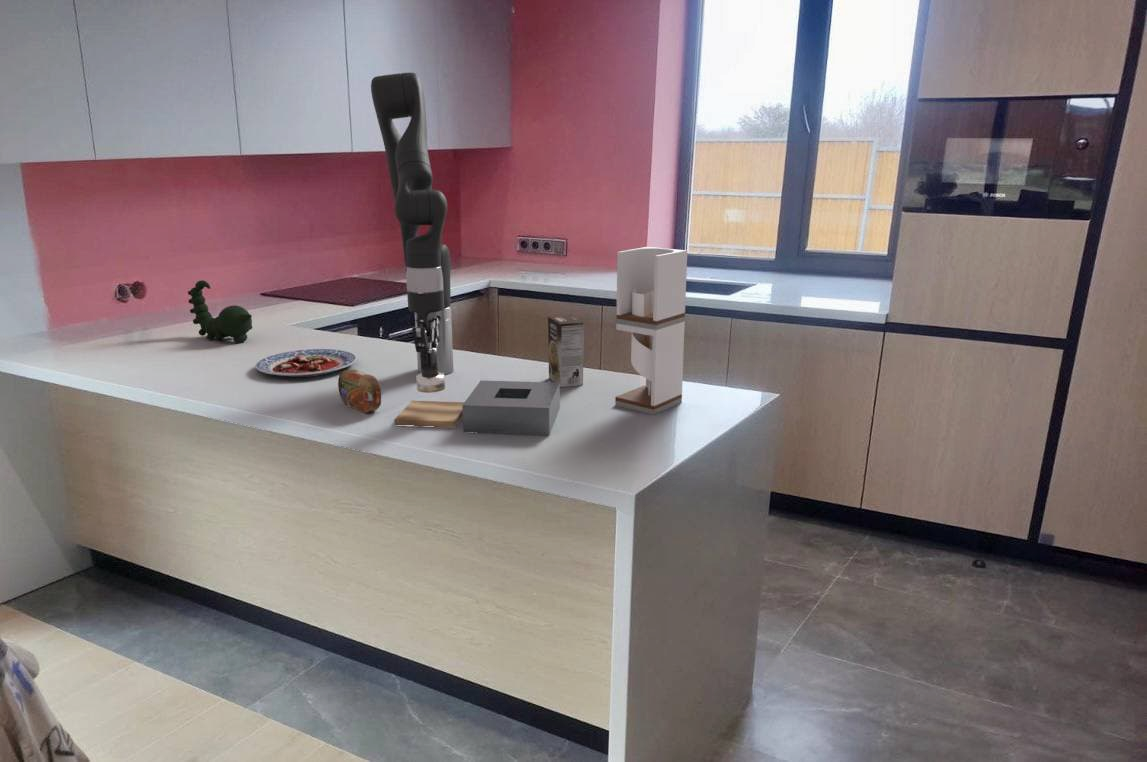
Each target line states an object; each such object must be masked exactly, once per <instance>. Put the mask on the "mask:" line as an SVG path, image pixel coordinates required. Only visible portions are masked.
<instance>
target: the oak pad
mask: <svg viewBox="0 0 1147 762" xmlns="http://www.w3.org/2000/svg"><path fill="white" fill-rule="evenodd" d="M464 402H465V401H463V402H462V401H437V400H436V401H435V400H433V401H432V400H411V401H410V402H409V403H408V404H407V406H406V407H404V408H403V410H401V412H399V414H398V415H397V416H396V417H395V418H394V420H393V422H394V426H395V425H414V426H434V427H433V428H435V427H452V428H451V429H455V428H456V427H457V425H458V424H459V423H460V421H461V420H462V419H463V410H462V405H463V404H464ZM460 419H461V420H460ZM458 422H459V423H458ZM457 423H458V424H457ZM455 426H456V427H455ZM453 427H454V428H453Z"/></svg>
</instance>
